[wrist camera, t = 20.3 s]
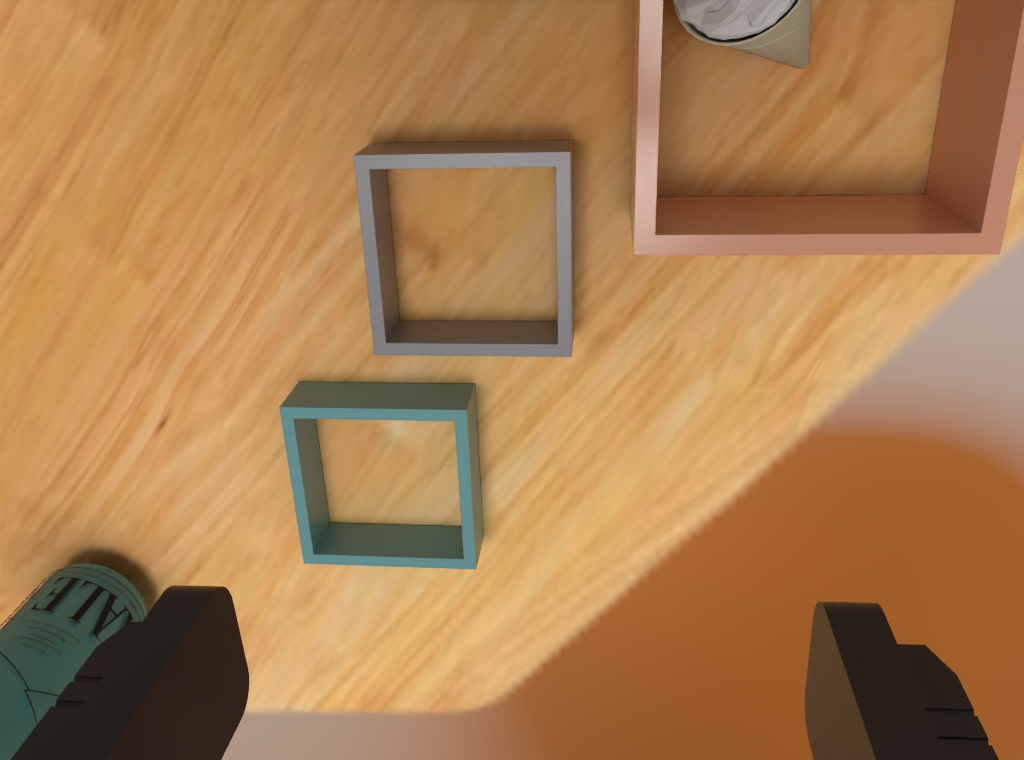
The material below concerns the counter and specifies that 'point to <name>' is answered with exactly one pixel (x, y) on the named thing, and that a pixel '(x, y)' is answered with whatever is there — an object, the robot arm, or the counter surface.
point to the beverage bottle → (57, 642)
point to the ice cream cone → (752, 26)
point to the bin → (857, 218)
